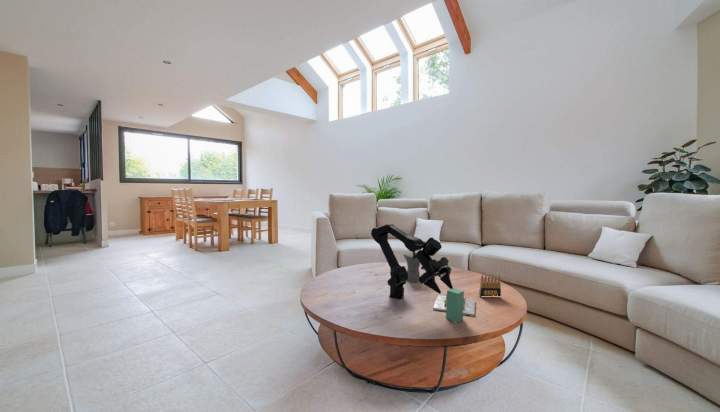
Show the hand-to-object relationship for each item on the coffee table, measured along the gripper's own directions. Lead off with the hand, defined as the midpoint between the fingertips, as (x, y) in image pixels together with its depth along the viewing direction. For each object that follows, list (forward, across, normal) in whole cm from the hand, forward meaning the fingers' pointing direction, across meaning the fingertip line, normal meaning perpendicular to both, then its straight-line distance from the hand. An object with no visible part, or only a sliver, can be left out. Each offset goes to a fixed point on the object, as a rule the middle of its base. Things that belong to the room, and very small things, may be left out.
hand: (446, 291), depth 133 cm
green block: (+11, 0, +5) cm, 12 cm away
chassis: (+6, +13, +10) cm, 17 cm away
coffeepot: (-21, +29, +36) cm, 51 cm away
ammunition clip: (+10, +38, +6) cm, 40 cm away
